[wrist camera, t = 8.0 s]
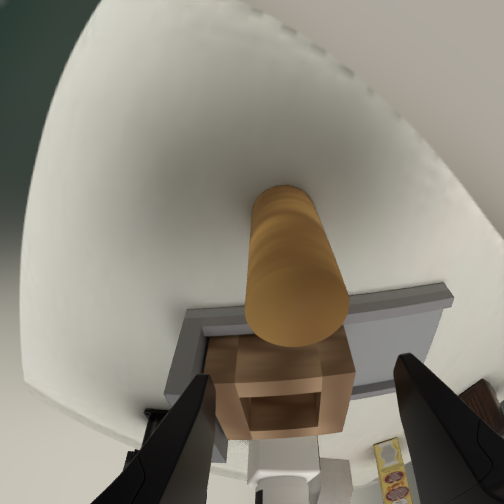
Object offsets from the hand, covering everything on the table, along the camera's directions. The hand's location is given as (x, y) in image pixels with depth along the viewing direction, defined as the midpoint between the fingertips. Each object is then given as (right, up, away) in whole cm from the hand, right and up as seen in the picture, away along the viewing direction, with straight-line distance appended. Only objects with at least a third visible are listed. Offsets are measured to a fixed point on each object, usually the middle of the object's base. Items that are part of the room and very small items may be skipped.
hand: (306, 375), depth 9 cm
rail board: (+4, -5, +17) cm, 18 cm away
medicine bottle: (+2, -19, +25) cm, 32 cm away
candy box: (+21, -29, +30) cm, 46 cm away
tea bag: (+11, -31, +32) cm, 46 cm away
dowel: (0, +6, +10) cm, 12 cm away
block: (+1, -6, +16) cm, 17 cm away
